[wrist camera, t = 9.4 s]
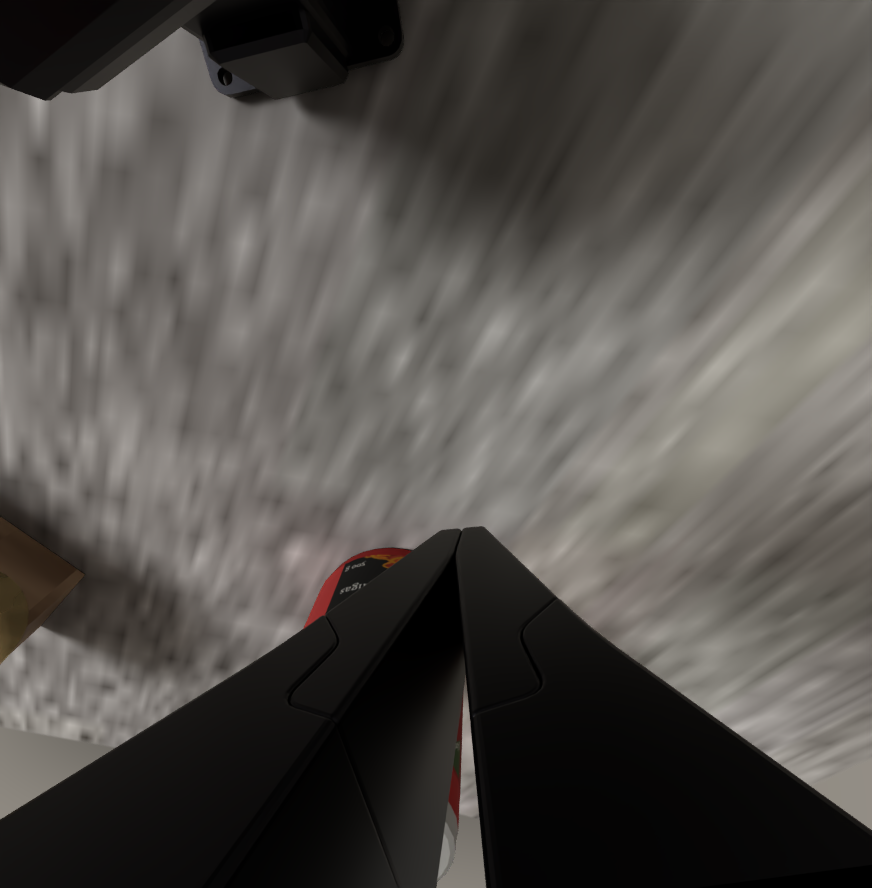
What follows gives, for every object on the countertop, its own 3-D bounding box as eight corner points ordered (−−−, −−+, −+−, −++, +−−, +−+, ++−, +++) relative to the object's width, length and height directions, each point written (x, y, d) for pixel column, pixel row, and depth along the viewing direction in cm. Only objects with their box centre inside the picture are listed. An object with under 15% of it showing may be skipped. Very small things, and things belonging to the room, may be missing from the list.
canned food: (493, 582, 24) (503, 830, 14) (422, 674, 28) (389, 928, 18) (359, 516, 23) (268, 734, 13) (301, 620, 27) (194, 857, 17)
